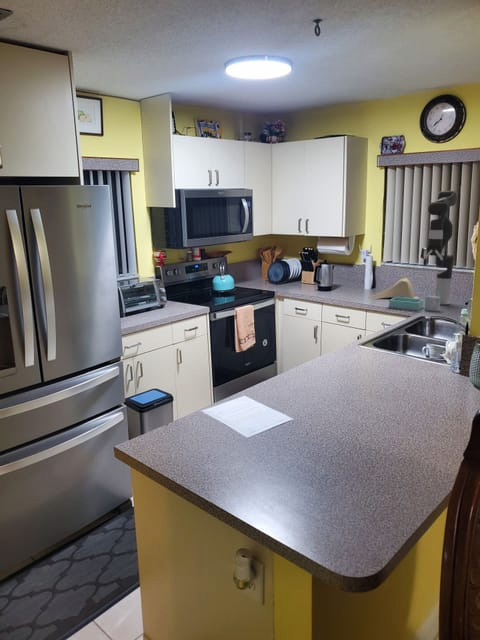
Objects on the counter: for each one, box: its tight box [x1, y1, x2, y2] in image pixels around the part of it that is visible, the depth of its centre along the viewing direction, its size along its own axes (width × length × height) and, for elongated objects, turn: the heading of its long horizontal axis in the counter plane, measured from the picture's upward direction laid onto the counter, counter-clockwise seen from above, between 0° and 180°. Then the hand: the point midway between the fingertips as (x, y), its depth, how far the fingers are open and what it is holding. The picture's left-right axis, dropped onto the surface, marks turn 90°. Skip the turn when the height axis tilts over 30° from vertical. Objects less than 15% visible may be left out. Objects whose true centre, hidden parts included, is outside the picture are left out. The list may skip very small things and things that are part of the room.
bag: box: [367, 277, 420, 300], centre depth 348 cm, size 19×17×35 cm
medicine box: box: [424, 295, 441, 312], centre depth 305 cm, size 8×4×9 cm, turn 48°
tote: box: [388, 296, 425, 312], centre depth 314 cm, size 15×18×5 cm
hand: (432, 266), depth 285 cm, fingers open, 8 cm apart
